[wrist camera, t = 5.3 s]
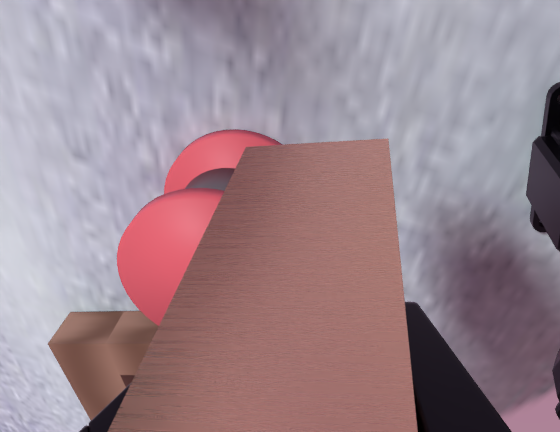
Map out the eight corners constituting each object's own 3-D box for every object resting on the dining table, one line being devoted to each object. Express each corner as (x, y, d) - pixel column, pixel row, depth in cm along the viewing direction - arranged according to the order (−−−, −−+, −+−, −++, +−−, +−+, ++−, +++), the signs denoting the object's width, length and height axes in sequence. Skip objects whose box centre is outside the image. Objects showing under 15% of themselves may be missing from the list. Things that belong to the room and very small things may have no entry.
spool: (305, 122, 21) (287, 193, 16) (323, 255, 24) (313, 347, 19) (151, 136, 22) (90, 205, 17) (190, 260, 26) (148, 347, 21)
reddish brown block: (388, 138, 10) (437, 618, 3) (390, 318, 13) (418, 788, 6) (245, 146, 11) (41, 568, 4) (275, 317, 13) (185, 744, 6)
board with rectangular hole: (266, 308, 27) (257, 343, 25) (295, 441, 33) (291, 477, 31) (70, 312, 29) (47, 343, 27) (132, 434, 35) (117, 468, 33)
